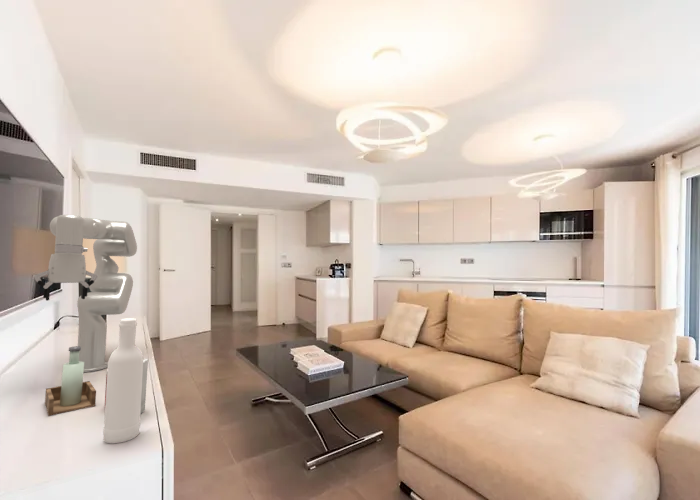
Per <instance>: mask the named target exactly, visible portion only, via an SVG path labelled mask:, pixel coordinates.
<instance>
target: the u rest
mask: <svg viewBox="0 0 700 500" xmlns="http://www.w3.org/2000/svg"><path fill="white" fill-rule="evenodd" d="M60 395H61V385H60V386H54V387H48V388H47V387H46V388H45V397H44V406H45V409H46V412H47V416H48V417H51V416H54V415H55V416H56V415H60V414H64V413H68V412H74V411H78V410H81V409H87V408H91V407H95V406H96V397H97V390H96V388H95V387H94V385H93V384H92V383H91V381H90V380H87V381H83V384H82V397H81V402H80V403H78V404H75V405H70V406H60Z"/></svg>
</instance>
